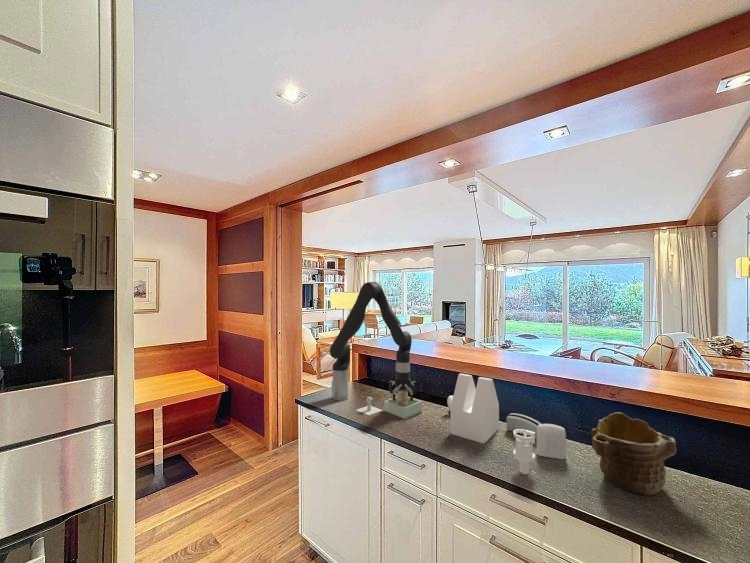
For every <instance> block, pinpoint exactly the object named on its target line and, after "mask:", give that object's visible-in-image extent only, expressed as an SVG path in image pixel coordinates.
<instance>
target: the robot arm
mask: <svg viewBox="0 0 750 563" xmlns="http://www.w3.org/2000/svg"><path fill="white" fill-rule="evenodd" d="M372 300H374V301H375V302H376V303H377V305H378V308H379V311H380V314H381V317H382V320H383V322H384V323H385V325H386V327H387V329H388V330H389V331H390V335H391V338H392V341H393V342H394V343H395V344H396V345H397V346H399V347H398V349H397V351H396V354H395V357H396V358H395V359H396V361H395V380H394V381H393V380H390V381H389V387H388V388H389V389H388V392H389V394H392V398H393V400H394V401H395V397H396V393H398V389H408V393H409V398H410V402H412V401H413V399H414V394H417V391H418V390H417V381H416V380H413V381H412V380H411V363H410V360H411V356H410V355H411V353H410V352H411V347H412V343H413V342H412V340H413V339H412V335H411V334H410V332H408V331H403V329H402V324H401V321H400V320H399V318H398V316H397V315H396V314H395V311H393V309H392V307H391V305H390V303H389V301H388V299H387V296H386V294H385V292H384V289H383V287H382V285H381V284H380V283H379V282H377V281H368V282H365V283H363V285H362V286H361V287H360V290H359V293H358V296H357V298H356V300H355V303H354V304H353V306H352V307H351V310H350V312H349V314H348V315H347V317H346V319H345V320H344V321H345V322H344V324H343V325H342V327H341V329H340V331H339V333H338V334H337V336H336V338H334V340H333V342H332V344H331V345H330V347H329V355H330V356H331V358H333V359H336V360H335V362H334V363H333V364H332V381H331V398H332V400H334V401H338V402H340V401H342V402H343V401H346V400H348V399H349V365H350V363H351V346H350V344H349V343H348V342H349V341H350V340H351V339H352V337H354V336H355V335H356V334H357V332H359V330H361V327H362V325H363V324H364V321H365V317H366V310H367V306H368V305H369V304H370V302H371V301H372ZM394 385H395V388H394V389H393V386H394ZM411 385H412V386H413V390H412V388H411Z"/></svg>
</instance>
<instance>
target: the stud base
mask: <svg viewBox="0 0 750 563" xmlns="http://www.w3.org/2000/svg"><path fill="white" fill-rule="evenodd" d="M365 400H366V402H367V403H366V404H367V405H366V406H364V407H360V408H357V409H356V411H357V412H360V413H362V414H365V415H367V416H371V415H375V414H377V413H379V412H382V411H383V409H380V408H378V407H376V406H373V405H372V401H373V397H371V396H367V397H366V399H365Z"/></svg>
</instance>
